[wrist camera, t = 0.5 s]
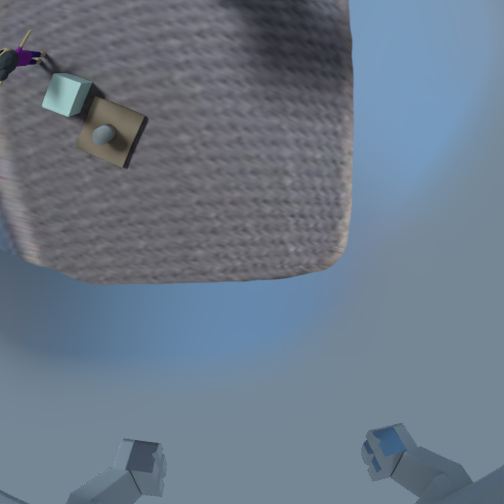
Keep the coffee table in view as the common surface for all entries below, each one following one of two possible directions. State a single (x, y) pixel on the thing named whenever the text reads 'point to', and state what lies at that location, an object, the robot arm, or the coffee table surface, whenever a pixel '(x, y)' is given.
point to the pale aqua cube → (66, 94)
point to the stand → (109, 131)
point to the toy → (17, 59)
